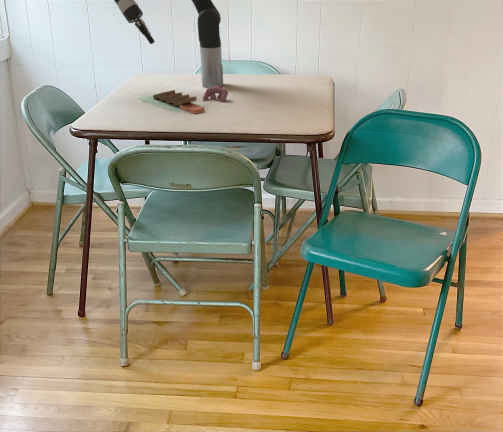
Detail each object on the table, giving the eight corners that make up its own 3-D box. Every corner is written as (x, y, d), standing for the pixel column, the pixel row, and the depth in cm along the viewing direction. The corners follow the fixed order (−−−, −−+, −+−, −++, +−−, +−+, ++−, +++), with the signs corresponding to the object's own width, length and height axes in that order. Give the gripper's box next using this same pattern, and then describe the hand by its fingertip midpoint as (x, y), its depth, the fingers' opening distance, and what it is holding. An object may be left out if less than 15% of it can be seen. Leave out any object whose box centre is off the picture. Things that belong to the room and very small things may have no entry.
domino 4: (172, 102, 253) (185, 98, 245) (183, 100, 256) (195, 96, 247) (173, 106, 253) (186, 102, 245) (184, 104, 256) (196, 100, 248)
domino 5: (179, 104, 249) (193, 109, 242) (189, 102, 252) (204, 107, 245) (179, 108, 250) (193, 113, 243) (190, 106, 253) (204, 111, 246)
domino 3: (166, 100, 256) (178, 96, 248) (176, 97, 259) (188, 94, 251) (167, 104, 257) (179, 100, 249) (177, 101, 259) (189, 98, 251)
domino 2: (159, 97, 260) (170, 94, 252) (169, 95, 263) (181, 92, 255) (160, 101, 260) (171, 98, 252) (170, 99, 263) (182, 96, 255)
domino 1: (152, 95, 264) (164, 92, 256) (163, 93, 267) (174, 89, 258) (153, 99, 264) (165, 96, 256) (163, 97, 267) (175, 93, 259)
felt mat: (136, 99, 266) (136, 98, 266) (165, 93, 274) (165, 92, 274) (175, 113, 245) (175, 112, 245) (205, 106, 253) (205, 106, 252)
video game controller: (227, 104, 261) (230, 88, 261) (223, 102, 257) (225, 85, 257) (206, 102, 264) (208, 86, 264) (201, 100, 260) (204, 83, 260)
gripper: (133, -1, 264) (156, 34, 264) (140, 7, 277) (163, 40, 277) (118, 10, 264) (142, 45, 265) (126, 17, 278) (149, 50, 278)
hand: (152, 42), depth 271 cm, fingers closed
